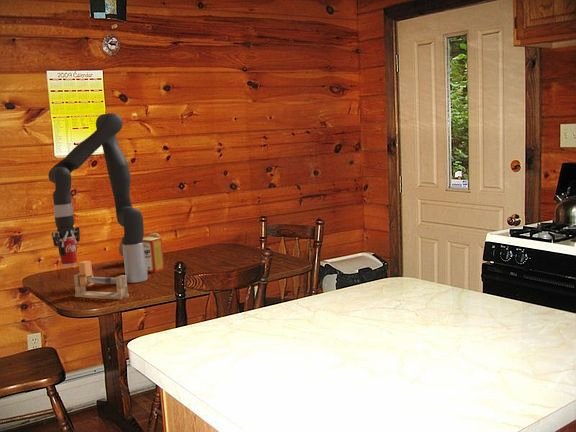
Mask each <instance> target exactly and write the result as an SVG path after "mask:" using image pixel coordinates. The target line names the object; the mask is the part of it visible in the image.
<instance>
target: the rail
mask: <svg viewBox="0 0 576 432" xmlns="http://www.w3.org/2000/svg"><path fill="white" fill-rule="evenodd" d="M79 275H80V273H78V274H74V275H73V281H74V290H75V293H74V297H75V298H87V299H88V298H89V299H105V300H119V301H121V299H122V300H123V298H124V299H127V298H128V297H130V294H129V292H128V282H127V281H126V275H124V274H121V275H118V276H116V277H111V276H109V277H103V276H93V277H87V283H94V284H105V285H116V292H115V291H114V292H105V291H91V290H90V291H88V290H87V289H86V288H87V287H80V278H79Z"/></svg>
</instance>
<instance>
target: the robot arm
mask: <svg viewBox="0 0 576 432" xmlns="http://www.w3.org/2000/svg"><path fill="white" fill-rule="evenodd" d="M123 123H124V122H123V120H122V117H121V116H120V115H118V114H117V113H113V112H112V113H111V112H109V113H103V114H100V115H99V116H97V118H96V120H95V127H96V130H95V131H94V132H92V133H91V134H90V135H89V136H87V138H85V139H84V140H83V141H81V142H80V143H78V144H76V146H74V148H73V149H72V150H71V151H69V152H68V153H67V155H66V156H65V157H64V158H62V159H61V160H60V161H58V162H57V163H55V164H54V165H53V166H52V167H51V168H50V170H49V172H48V176H47V177H48V179H49V181H50V182H51V183H53V184H54V186H55V188H54V189H55V190H54V191H53V193H52V199H53V214H54V215H53V216H54V224H55V227H56V229H57V231H54V232H52V233H51V238H52V242H53V246H54V247H57V248H58V254H59V256H60V257H61V256H65V250H64V242H65V241H66V238H68V237H72V236H73V238H74V239H75V247H76V253H77V252H78V247H77V243H78V242H80V241H81V239H80V237H81V235H80V231H81V230H80V227H79V226H77V227H76V226H75V217H74V215H75V214H74V208H73V203H72V194H71V189H72V174H71V173H73V172H74V171H76V170H78V169H79V168H81V167H82V165H83V164H85V162H87V161H88V160H89V158H91V156H92V155H93V154H94V153H95V152H96V151H97V150H98V149H99V148H100V147H102V150H103V151H102V152H103V156H104V161H105V163H106V169H107V170H106V171H107V173H108V180H109V183H110V186H111V191H112V195H113V200H114V207H115V216H116V221H117V223H118V224H119V225H120V226H121V227H123V237H121V242H122V248H123V256H122V258H123V264H124V274H125V275H126V281H127V284H130V283H131V284H133V283H135V284H136V283H141V282H145V281H147V279H148V278H149V276H148V274H149V272H147V263H146V258H145V256H144V246H143V238H144V236H145V228H144V217H143V213H142V212H141V210H139V209H137V208H135V207H133V204H132V201H131V196H130V195H131V193H130V191H131V190H130V189H131V182H132V181H131V180H132V177H131V172H130V167H129V164H128V161H127V158H126V157H125V154H124V153H123V151H122V149H121V147H120V146H119V142H118V139H117V138H118V137H117V134H118V133H120V132H121V130H122V128H123V126H124V125H123ZM61 238H63V239H61ZM61 241H62V243H61V244H60V242H61Z"/></svg>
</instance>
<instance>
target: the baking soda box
mask: <svg viewBox="0 0 576 432" xmlns="http://www.w3.org/2000/svg"><path fill="white" fill-rule="evenodd" d="M162 241H163V240H162V237H161V238H152V237H147V236H145V237H143V246H144V256H145V258H146V263H147V273H149V272H151V274H156V272H157V273H159V271H160V272H163V271H165V270H166V269H165V260H164V247H163V242H162ZM162 247H163V248H162ZM162 270H163V271H162Z"/></svg>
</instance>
